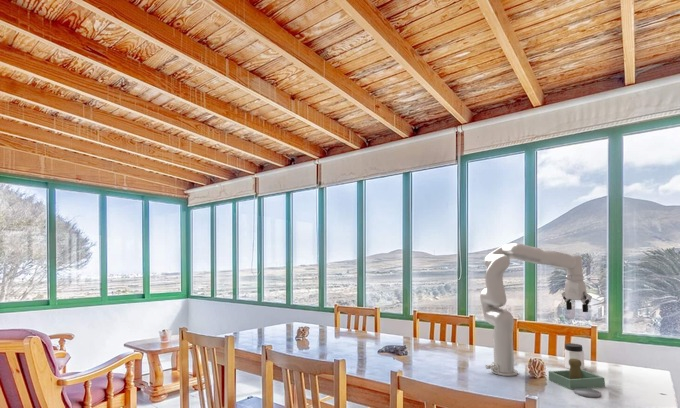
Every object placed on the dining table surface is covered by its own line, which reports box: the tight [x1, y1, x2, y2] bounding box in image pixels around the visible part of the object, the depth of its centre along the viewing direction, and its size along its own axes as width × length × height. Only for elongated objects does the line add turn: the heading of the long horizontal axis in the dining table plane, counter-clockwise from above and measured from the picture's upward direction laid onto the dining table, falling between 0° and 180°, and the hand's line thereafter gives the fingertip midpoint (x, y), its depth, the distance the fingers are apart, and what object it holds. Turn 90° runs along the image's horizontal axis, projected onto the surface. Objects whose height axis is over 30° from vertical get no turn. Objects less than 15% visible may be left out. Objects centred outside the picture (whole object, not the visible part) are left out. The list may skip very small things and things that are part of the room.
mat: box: [573, 388, 602, 399], centre depth 178 cm, size 10×10×1 cm
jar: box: [563, 342, 586, 371], centre depth 218 cm, size 9×8×12 cm
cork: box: [569, 359, 583, 379], centre depth 193 cm, size 6×6×11 cm
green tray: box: [548, 369, 606, 390], centre depth 192 cm, size 18×14×4 cm
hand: (577, 310), depth 219 cm, fingers open, 9 cm apart
